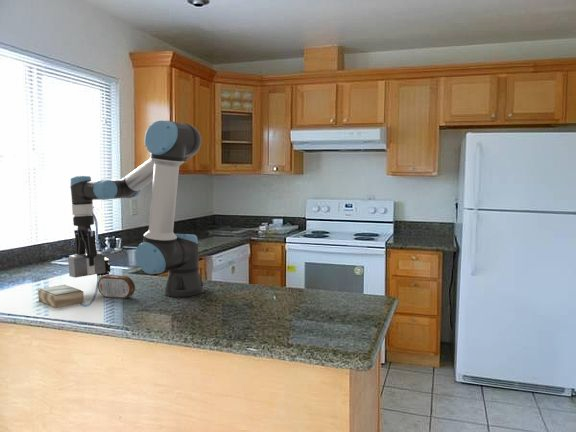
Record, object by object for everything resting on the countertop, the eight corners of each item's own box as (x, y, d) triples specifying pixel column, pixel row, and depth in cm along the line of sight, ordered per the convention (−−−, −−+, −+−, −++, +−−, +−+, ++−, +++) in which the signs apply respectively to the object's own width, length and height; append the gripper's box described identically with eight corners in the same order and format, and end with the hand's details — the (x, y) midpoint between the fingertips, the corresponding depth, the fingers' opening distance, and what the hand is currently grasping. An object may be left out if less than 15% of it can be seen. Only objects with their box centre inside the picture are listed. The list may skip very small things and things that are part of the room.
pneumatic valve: (98, 287, 200) (96, 258, 199) (95, 282, 210) (94, 255, 209) (112, 285, 202) (110, 257, 201) (108, 280, 213) (107, 254, 212)
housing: (105, 272, 193) (104, 251, 193) (75, 277, 185) (73, 255, 185) (99, 271, 198) (98, 250, 197) (69, 275, 189) (67, 254, 189)
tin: (135, 297, 181) (134, 275, 181) (130, 299, 178) (129, 277, 178) (102, 295, 186) (101, 274, 185) (96, 297, 183) (95, 275, 182)
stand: (83, 301, 176) (83, 290, 176) (55, 307, 169) (54, 295, 169) (66, 295, 187) (65, 284, 187) (38, 300, 180) (38, 288, 180)
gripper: (103, 214, 186) (107, 273, 188) (82, 214, 199) (86, 269, 201) (84, 216, 181) (88, 277, 182) (63, 215, 194) (68, 272, 195)
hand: (87, 273), depth 191 cm, fingers closed on housing, 6 cm apart
